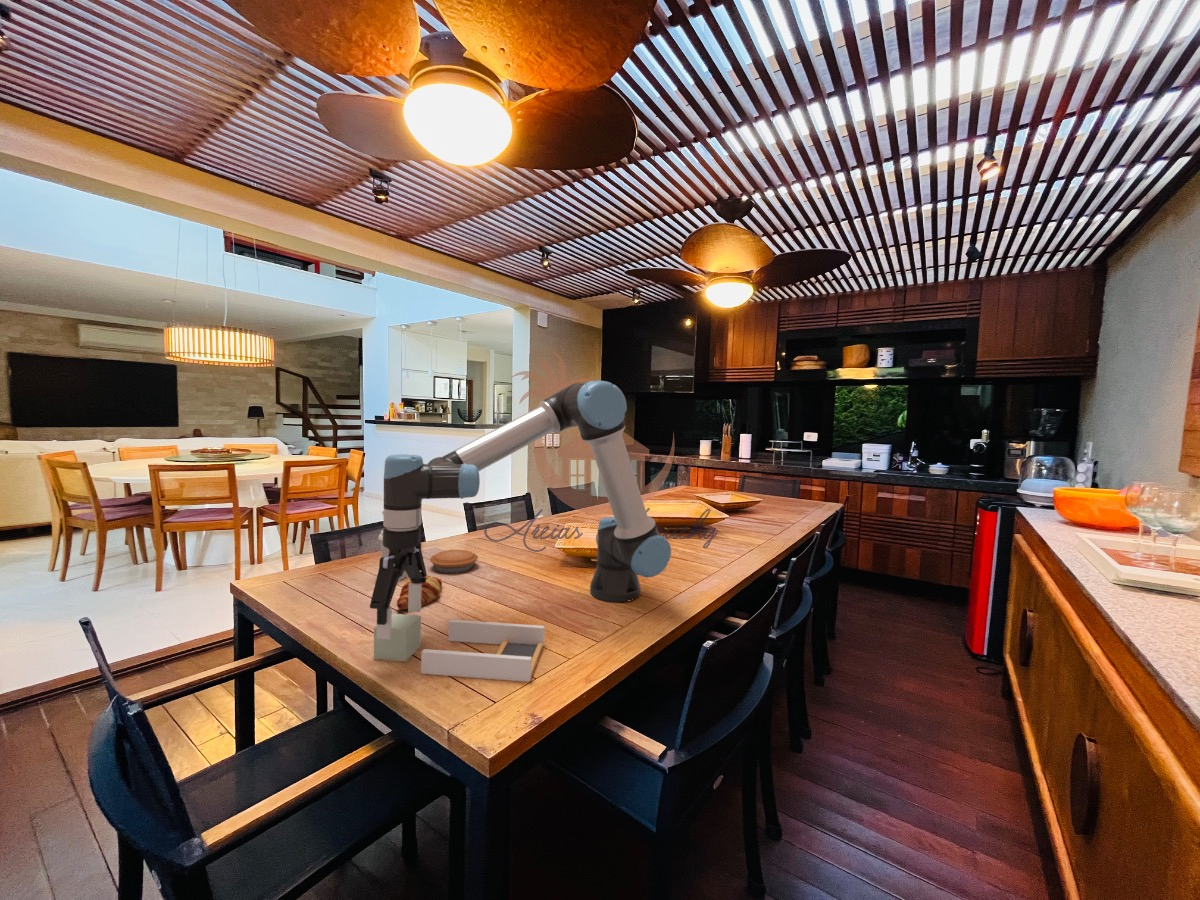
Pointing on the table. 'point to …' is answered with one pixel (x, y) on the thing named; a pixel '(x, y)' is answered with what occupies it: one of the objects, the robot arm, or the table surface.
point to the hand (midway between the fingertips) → (400, 624)
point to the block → (399, 638)
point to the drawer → (522, 651)
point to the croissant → (428, 592)
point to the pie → (453, 560)
